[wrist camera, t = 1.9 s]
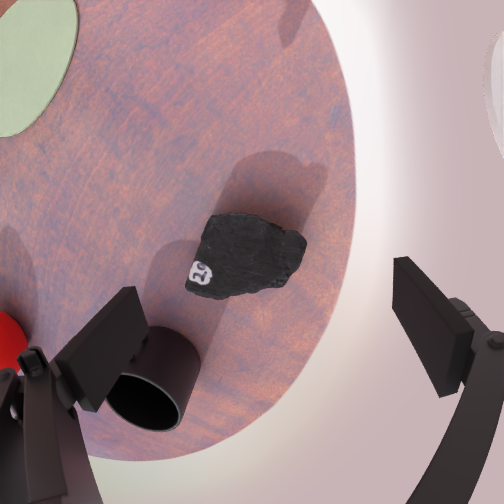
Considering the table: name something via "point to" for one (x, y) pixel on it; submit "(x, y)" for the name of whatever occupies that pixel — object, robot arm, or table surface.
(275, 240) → the rock
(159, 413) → the mug
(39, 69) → the mat
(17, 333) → the tomato
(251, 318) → the table surface
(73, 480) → the robot arm
